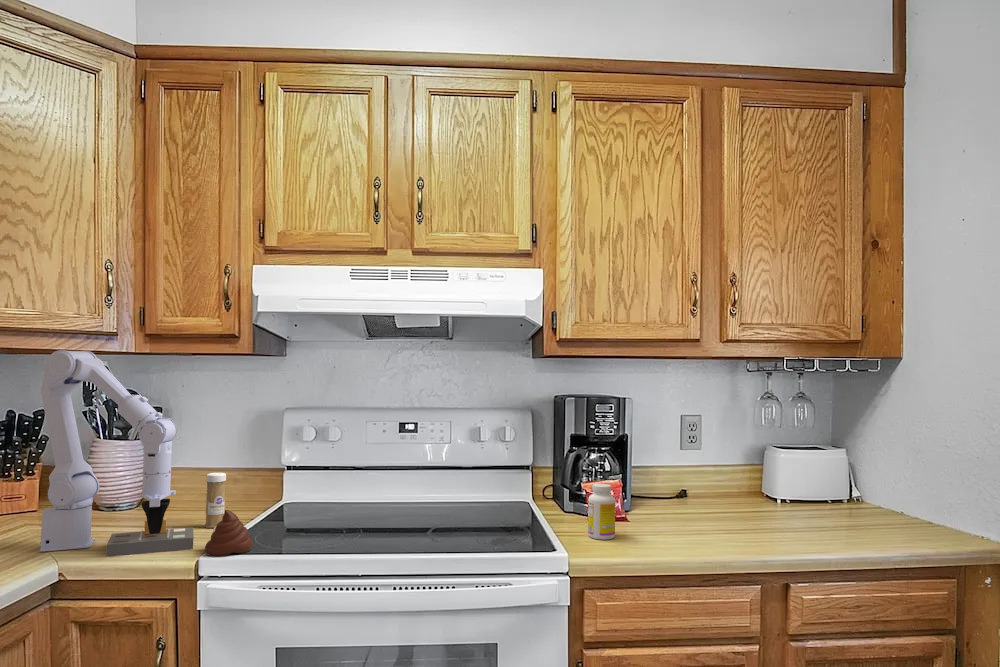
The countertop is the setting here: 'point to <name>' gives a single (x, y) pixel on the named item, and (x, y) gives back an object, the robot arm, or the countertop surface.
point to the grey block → (149, 542)
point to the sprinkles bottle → (215, 499)
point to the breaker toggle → (163, 529)
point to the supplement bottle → (601, 513)
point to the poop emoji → (229, 537)
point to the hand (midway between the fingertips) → (154, 533)
